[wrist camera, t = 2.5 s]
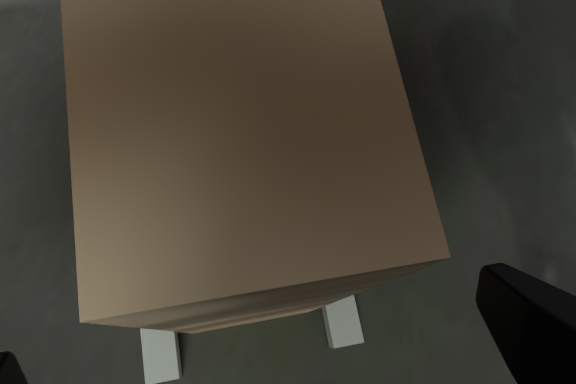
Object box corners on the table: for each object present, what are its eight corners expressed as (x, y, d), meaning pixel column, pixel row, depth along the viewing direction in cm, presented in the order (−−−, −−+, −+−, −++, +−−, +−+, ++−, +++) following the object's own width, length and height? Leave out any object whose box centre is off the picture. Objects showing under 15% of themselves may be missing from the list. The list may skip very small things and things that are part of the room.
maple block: (307, 312, 20) (451, 257, 6) (193, 333, 19) (79, 321, 6) (285, 195, 21) (365, -56, 8) (178, 211, 20) (59, -33, 7)
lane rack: (372, 339, 19) (415, 340, 15) (134, 385, 18) (96, 403, 13) (330, 146, 22) (355, 92, 17) (116, 174, 20) (78, 125, 16)
